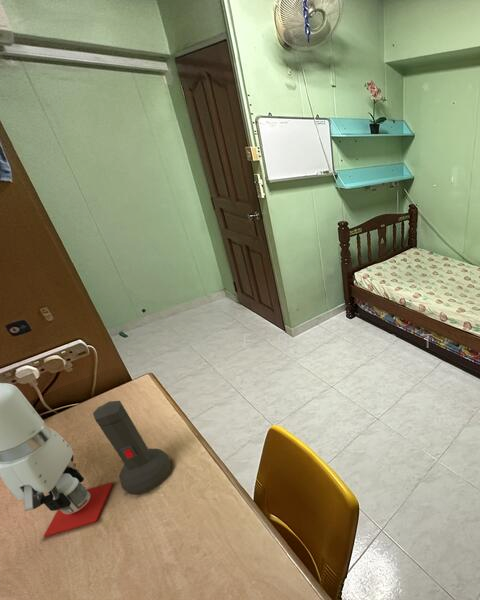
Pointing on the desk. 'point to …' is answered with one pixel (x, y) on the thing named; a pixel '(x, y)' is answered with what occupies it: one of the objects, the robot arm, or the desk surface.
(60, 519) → the red pad
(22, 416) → the robot arm
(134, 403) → the desk surface
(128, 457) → the flashlight
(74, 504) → the pill bottle
